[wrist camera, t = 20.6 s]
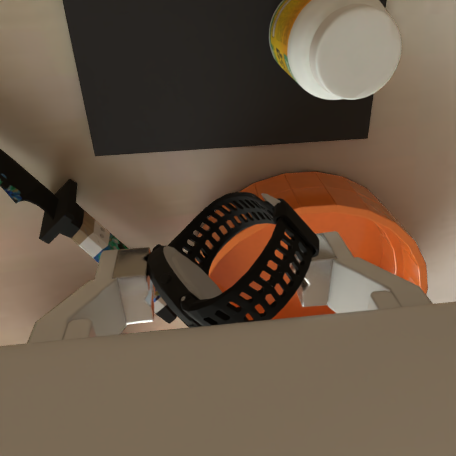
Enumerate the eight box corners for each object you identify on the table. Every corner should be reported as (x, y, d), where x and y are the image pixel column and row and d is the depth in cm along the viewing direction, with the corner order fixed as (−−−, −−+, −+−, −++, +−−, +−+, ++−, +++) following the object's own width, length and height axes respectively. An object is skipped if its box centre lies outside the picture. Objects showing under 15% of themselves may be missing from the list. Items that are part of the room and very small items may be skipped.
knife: (187, 286, 36) (183, 319, 32) (161, 305, 37) (154, 340, 33) (-153, -38, 25) (-222, -50, 21) (-179, -2, 26) (-251, -7, 22)
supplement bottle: (365, 18, 27) (443, 36, 19) (313, 91, 29) (364, 135, 21) (301, -36, 25) (355, -41, 17) (250, 46, 27) (278, 75, 19)
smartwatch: (138, 200, 15) (123, 294, 10) (281, 150, 14) (328, 226, 10) (182, 287, 17) (185, 395, 12) (307, 246, 16) (354, 343, 12)
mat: (96, 153, 31) (95, 156, 30) (56, -42, 25) (53, -43, 24) (364, 136, 32) (367, 138, 31) (390, -55, 26) (394, -56, 25)
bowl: (197, 347, 42) (199, 399, 37) (180, 177, 32) (179, 216, 27) (377, 330, 43) (404, 379, 38) (411, 162, 33) (452, 195, 28)
